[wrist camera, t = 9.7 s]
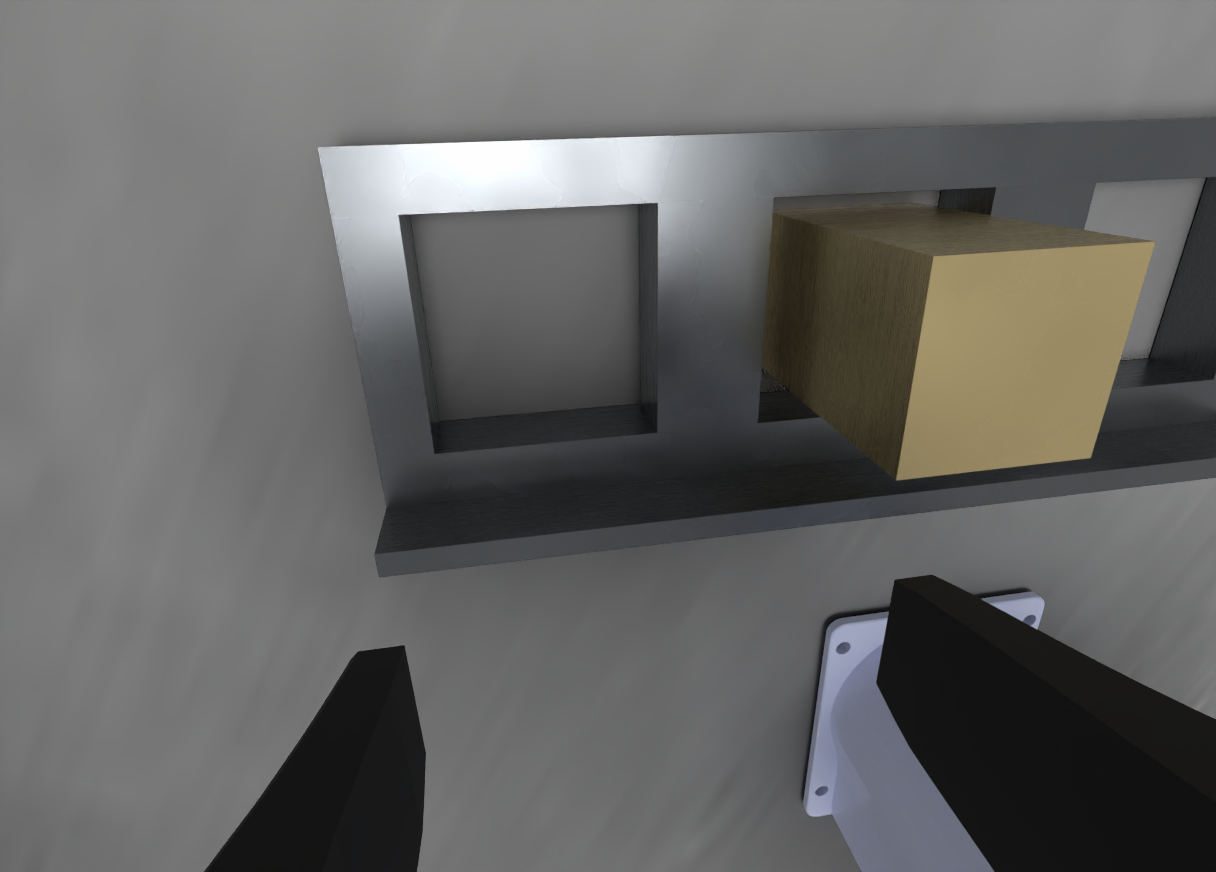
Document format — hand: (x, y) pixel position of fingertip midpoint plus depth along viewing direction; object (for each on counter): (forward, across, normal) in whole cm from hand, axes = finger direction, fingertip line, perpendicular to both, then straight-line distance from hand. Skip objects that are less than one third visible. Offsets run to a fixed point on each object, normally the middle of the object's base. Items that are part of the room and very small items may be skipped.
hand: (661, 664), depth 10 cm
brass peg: (+10, -7, -3) cm, 12 cm away
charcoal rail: (+9, -7, -3) cm, 12 cm away
